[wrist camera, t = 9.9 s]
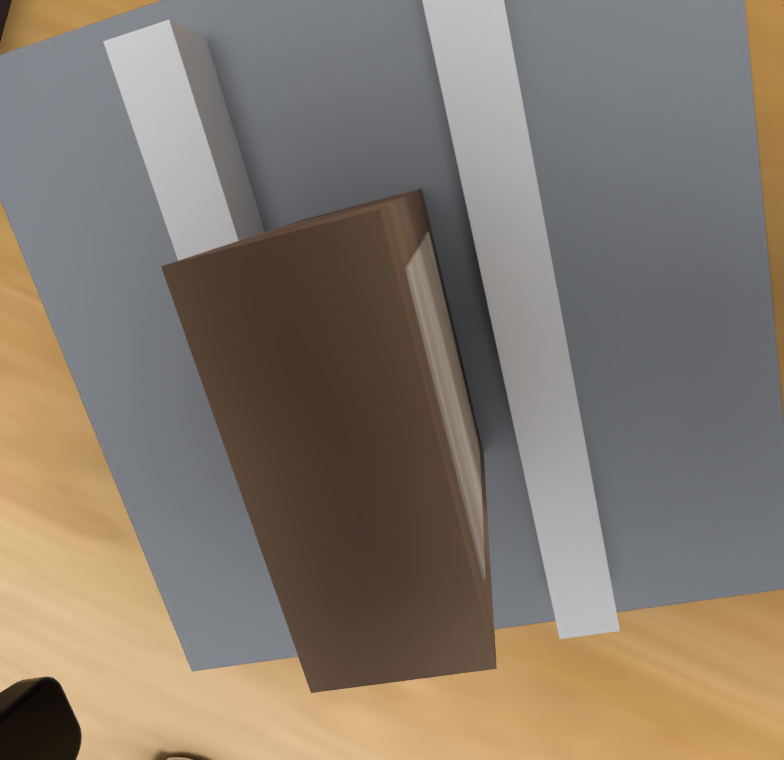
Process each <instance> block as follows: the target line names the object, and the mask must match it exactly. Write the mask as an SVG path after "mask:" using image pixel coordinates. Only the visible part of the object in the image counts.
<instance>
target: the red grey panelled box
mask: <svg viewBox="0 0 784 760" xmlns="http://www.w3.org/2000/svg"><path fill="white" fill-rule="evenodd" d="M11 1H12V0H0V40H1V37H2V33H3V30H4V26H5V22H6V19H7V15H8V12H9V8H10V4H11Z"/></svg>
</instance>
